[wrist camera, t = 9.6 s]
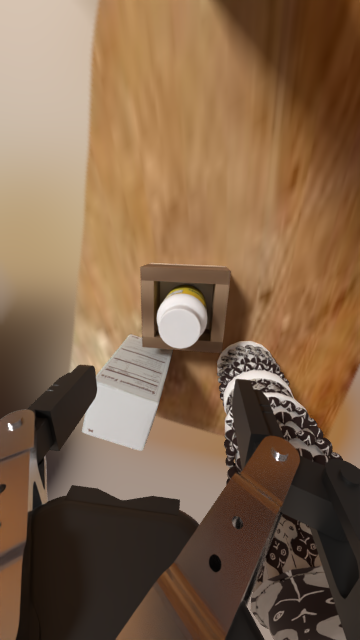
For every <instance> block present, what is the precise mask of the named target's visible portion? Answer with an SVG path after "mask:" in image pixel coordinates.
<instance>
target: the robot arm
mask: <svg viewBox="0 0 360 640" xmlns="http://www.w3.org/2000/svg"><path fill="white" fill-rule="evenodd" d="M96 394H97V382H96V374H95V368H94V366H89V365H78V366H77V367H76V368H75V369H74V370H73V371H72V372H71V373H67V374H66V375H64V376H62V377H61V378H59V379H58V380H57V381H56V382H55V383H54V384H53V386H51V387H50V388H49V389H48V390H47V391H45V392H44V393H43V394H42V395H41V396H40V397H39V398H38V399H37V400H36V401H35V402H34V403H33V404H32V405H31V406H30V407H29V408H28V409H26V410H19V411H15V412H12V413H10V414H8V415H6V416H5V417H3V418H2V419H1V420H0V640H264V638H263V636H262V634H261V632H260V630H259V629H258V627H257V625H256V623H255V621H254V619H253V617H252V616H251V614H250V612H249V610H248V608H247V604H248V602H249V599H250V597H251V594H252V592H253V589H254V587H255V584H256V582H257V579H258V576H259V574H260V571H261V568H262V565H263V563H264V560H265V557H266V555H267V552H268V550H269V547H270V545H271V542H272V540H273V537H274V535H275V532H276V530H277V527H278V525H279V522H280V519H281V517H282V514H285V515H287V516H289V517H291V518H293V519H295V520H297V521H300V522H302V523H304V524H306V525H308V526H309V527H310V530H311V533H312V536H313V539H314V542H315V545H316V548H317V551H318V554H319V558H320V561H321V564H322V567H323V570H324V573H325V576H326V579H327V582H328V585H329V588H330V591H331V594H332V597H333V600H334V603H335V606H336V609H337V612H338V615H339V619H340V622H341V625H342V628H343V631H344V634H345V637H346V640H360V469H358V468H357V467H356V466H354V465H352V464H351V463H348V462H346V461H343V460H340V459H331V460H329V461H327V463H326V465H325V466H324V465H322V464H319V463H316V462H314V461H311V460H309V459H306V458H304V457H302V456H300V455H299V453H298V451H297V450H296V448H295V447H294V446H293V445H292V444H291V443H289V442H288V441H287V440H285V438H284V436H283V434H282V431H281V429H280V427H279V424H278V422H277V419H276V417H275V415H274V414H273V410H272V407H271V405H270V403H269V400H268V398H267V397H266V396H265V395H264V394H263V393H262V392H261V390H254V388H253V386H252V383H251V380H245V379H236V380H235V385H234V392H233V399H232V415H233V421H234V427H235V432H236V438H237V444H238V450H239V455H240V461H241V467H242V472H241V473H240V474H239V473H238V472H237V473H235V474H234V475H233V477H232V478H231V479H230V481H229V482H228V484H227V485H226V487H225V488H224V490H223V491H222V493H221V494H220V496H219V497H218V498H217V500H216V501H215V503H214V505H213V506H212V507H211V509H210V510H209V512H208V513H207V515H206V516H205V518H204V519H203V521H202V522H201V523H200V525H199V524H198V523H197V522H196V521H195V520H194V519H193V518H192V517H191V516H189V515H187V514H186V513H185V512H183V511H181V510H179V506H180V500H178V499H170V498H163V497H156V496H150V497H143V498H137V499H131V500H119V499H117V498H115V497H113V496H111V495H109V494H107V493H105V492H103V491H101V490H99V489H96V488H88V487H81V486H74V485H72V486H71V488H70V490H69V492H68V494H67V496H62V497H59V498H56V499H53V500H51V501H48V500H47V475H46V457H45V455H46V453H47V452H48V451H49V450H54V451H60V449H61V447H62V446H63V445H64V443H65V442H66V440H67V439H68V437H69V436H70V434H71V433H72V431H73V430H74V429H75V427H76V426H77V424H78V423H79V421H80V420H81V418H82V417H83V415H84V414H85V413H86V411H87V410H88V408H89V407H90V405H91V404H92V402H93V401H94V399H95V397H96Z"/></svg>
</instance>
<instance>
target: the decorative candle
mask: <svg viewBox="0 0 360 640" xmlns="http://www.w3.org/2000/svg"><path fill="white" fill-rule="evenodd" d="M217 371H218V373H217V375H218V376H219V377H220V378H218V382H219V383H221V385H220V386H219V390H220V392H221V393H220V398H221V400H223V406H224V409H225V412H226V414H227V416H226V418H225V438H226V440H225V442H224V446H225V448H226V455H227V458H226V465H227V466H228V467H229V468H230V469H229V470H228V472H227V476H228V479H227V484H228V482H229V481H230V479H231V478H232V477H233V475H234V474H235V473H237V472H238V473H239V474H240V473H241V472H242V467H241V461H240V455H239V450H238V444H237V438H236V432H235V427H234V421H233V415H232V399H233V392H234V385H235V380H236V379H245V380H251V383H252V386H253V388H254V390H261V392H262V393H263V394H264V395H265V396H266V397H267V398H268V400H269V403H270V405H271V407H272V410H273V414H274V415H275V417H276V419H277V422H278V424H279V427H280V429H281V431H282V434H283V436H284V438H285V440H287V441H288V442H289V443H291V444H292V445H293V446H294V447H295V448H296V450H297V451H298V453H299V455H300V456H302V457H304V458H306V459H309V460H311V461H314V462H316V463H319V464H322V465H324V466H325V465H326V463H327V461H329V460H331V459H340V460H343V459H342V457H341V456H340V455H339V454H337V453H334V452H332V444H331V442H330V441H329V440H328V439H326V438H323V432H322V431H321V429H320V428H318V427H317V423H316V421H315V420H314V419H312V418H309V415H308V413H307V410H306V409H305V408H304V407H303V406H302V405H301V404H300V403H299V402H297V401H296V400H295V399H294V397H293V395H292V392H291V390H290V388H289V382H288V380H287V379H285V378H284V374H283V373H282V372H280V367H279V365H278V364H277V363H276V361H275V359H274V358H273V357H272V356H271V354H270V352H269V351H268V350H267V349H266V348H265V347H264V346H263V345H261V344H258V343H256V342H253V341H239V342H236V343H234V344H231V345H229V346H228V347H227V348H226V349H225V350H223V351H222V353H221V354H220V356H219V359H218V361H217ZM231 445H232V446H231ZM234 459H235V463H234V462H233V460H234ZM251 611H252V613H253V614H254V616H255V617H256V619H257V620H258V621H259V622H260V624H261V625H262V626H264V627H265V628H267V629H269V630H270V633H271V635H272V636H273V639H274V640H346V637H345V634H344V631H343V628H342V625H341V622H340V619H339V615H338V612H337V609H336V606H335V603H334V600H333V597H332V594H331V591H330V588H329V585H328V582H327V579H326V576H325V573H324V570H323V567H322V564H321V561H320V558H319V554H318V551H317V548H316V545H315V542H314V539H313V536H312V533H311V530H310V527H309V526H308V525H306V524H304V523H302V522H300V521H297V520H295V519H293V518H291V517H289V516H287V515H285V514H282V517H281V519H280V522H279V525H278V527H277V530H276V532H275V535H274V537H273V540H272V542H271V545H270V547H269V550H268V552H267V555H266V557H265V560H264V563H263V565H262V568H261V571H260V574H259V576H258V579H257V582H256V584H255V587H254V589H253V594H252V596H251Z"/></svg>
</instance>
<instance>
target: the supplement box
mask: <svg viewBox="0 0 360 640" xmlns="http://www.w3.org/2000/svg"><path fill="white" fill-rule="evenodd" d="M172 352H173V350H172V349H159V348H147V347H142V338H141V337H138V336H135V335H132V334H130V335H129V336H128V337H127V338H126V340H125V341H124V342H123V343H122V345H121V346H120V347H119V348H118V349H117V351H116V352H115V353H114V354H113V356H112V357H111V358H110V359H109V360H108V362H107V363H106V364H105V365H104V366H103V368H102V369H101V370H100V371H99V373H98V374H97V375H96V382H97V394H96V397H95V399H94V401H93V402H92V404H91V405H90V407H89V408H88V410H87V411H86V413H85V419H84V424H83V428H82V432H83V433H86V434H88V435H91V436H94V437H97V438H101V439H103V440H107V441H110V442H113V443H116V444H119V445H123V446H126V447H129V448H132V449H136V450H140V451H142V450H143V449H144V446H145V444H146V441H147V438H148V436H149V433H150V430H151V427H152V424H153V421H154V418H155V415H156V412H157V409H158V405H159V401H160V397H161V394H162V390H163V386H164V383H165V379H166V375H167V372H168V368H169V364H170V360H171V356H172Z"/></svg>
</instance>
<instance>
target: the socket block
mask: <svg viewBox="0 0 360 640" xmlns="http://www.w3.org/2000/svg"><path fill="white" fill-rule="evenodd" d="M140 269H141V309H142V347H147V348H159V349H172V350H185V351H198V352H211V353H222V346H223V337H224V328H225V319H226V310H227V302H228V293H229V284H230V275H231V271H230V270H229V269H228V268H227V267H226V266H206V265H184V264H162V263H150V264H147V265H144V266H141V267H140ZM183 284H189V285H193V286H195V287H197V288H198V289H199V290H200V291H201V292H202V293H203V295H204V297H205V300H206V308H207V317H208V318H207V325H206V328H205V330H204V332H203V333H202V335H201V336H200V337H199V338H198V340H197V341H196V342H195V343H194V344H193V345H192V346H190V347H187V348H182V349H179V348H174V347H171V346H169V345H168V344H166V343H165V342H164V341H163V340H162V338H161V336H160V334H159V329H158V324H157V313H158V309H159V307H160V305H161V304H162V302H163V301H164V299H165V298H166V296H167V295H168V293H169V292H170V291H171V290H172V289H173V288H175V287H176V286H179V285H183Z"/></svg>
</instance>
